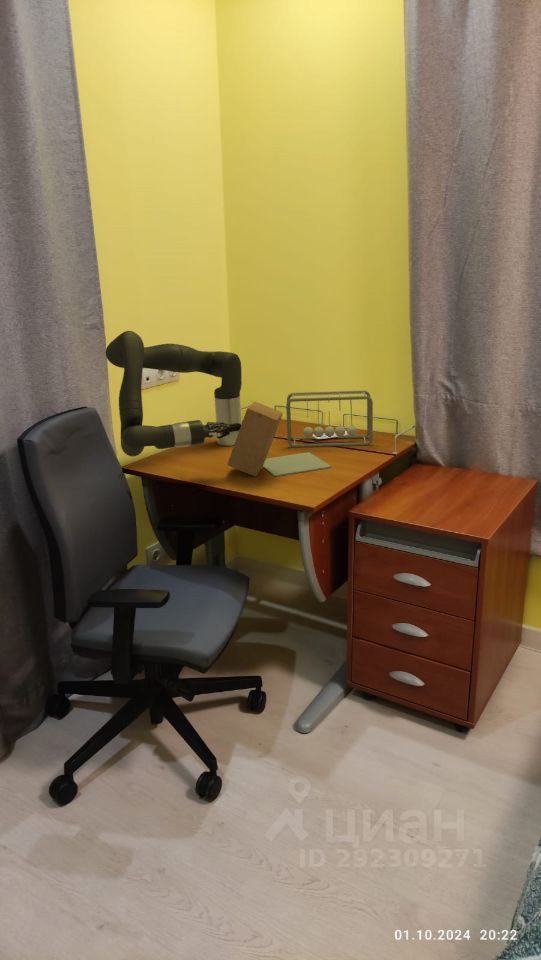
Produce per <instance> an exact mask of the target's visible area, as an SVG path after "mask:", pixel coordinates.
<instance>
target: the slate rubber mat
mask: <svg viewBox="0 0 541 960" xmlns="http://www.w3.org/2000/svg"><path fill="white" fill-rule="evenodd" d="M263 467H264V468H265V469H264V468H263ZM263 467H262V468H263V469H264V470H266V472H268V471H269V472H270V473H269V472H268V473H269V474H271V475H272V476H273V477H274V476H277V477H283V476H287V475H293V474H294V475H295V473H296V474H301V473H302V474H303V473H306V472H307V473H308V472H313V471H320V470H321V471H322V470H326V469H332V466H331V465H330V464H329V463H327V462H325V461H323V459H321V458H319V457H318V456H316V455H314V454H312V453H311V452H309V451H308V452H301V453H295V454H289V455H281V456H275V457H269V458H268V457H266V460H265V462H264V465H263ZM282 475H283V476H282Z"/></svg>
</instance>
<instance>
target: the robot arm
mask: <svg viewBox="0 0 541 960" xmlns="http://www.w3.org/2000/svg"><path fill="white" fill-rule="evenodd" d="M105 357H106V359H107V361H109V363H110V364H112V365H113V366H115V367H117V368H121V369H123V376H122V380H121V385H120V389H119V395H118V410H119V411H118V412H119V421H120V448H121V449H122V451H123V453H124V454H125V455H127V456H129V457H137V456H140V455H141V454H142V452H143V451H144V449H145V447H154V448H156V449H158V450H165V449H173V448H184V447H192V446H197V445H198V446H199V445H203V444H204V443H205V439H206V438H209V439H215V438H217V444H218V445H219V446H225V447H227V446H234V444H235V441H236V438H237V436H238V433H239V430H240V427H241V424H242V422H243V421H242V410H241V409H242V408H241V407H242V406H241V395H240V394H241V390H242V386H243V385H242V384H243V383H242V362H241V359H240V357H239V355H238V354H237V353H234V352H230V351H229V352H228V351H223V350H222V351H201V350H197V349H196V348H193V347H192V346H191V347H190V346H187V345H185V344H184V345H183V344H179V343H161V344H156V345H152V346H145V344H144V341H143V340H142V337H141V336H140V334H138V333H136V332H134V331H132V330H125V331H124V332H123V331H122V332H121V333H120V334H119V335H118V336H116V337H115V338H114V339H113V340H112V341H110V342H109V344H108V345H107V346H106V348H105ZM143 369H150V370H156V371H167V372H172V373H179V374H181V373H183V374H187V373H196V372H197V373H202V374H206V375H210V376H213V377H216V378H221V383H220V384H221V385H220V386H219V387H216V388H215V389H214V391H213V395H214V408H215V422H214V421H213V422H212V421H211V422H210V421H207V422H206V424H203V422H202V421H201V420H200V419H197V420H189V421H188V420H187V421H181V422H176V423H171V424H165V425H158V426H155V425H143V420H144V411H143V409H144V408H143V398H142V396H143V395H142V383H143V382H142V381H143Z"/></svg>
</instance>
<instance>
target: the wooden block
mask: <svg viewBox="0 0 541 960" xmlns="http://www.w3.org/2000/svg"><path fill="white" fill-rule="evenodd" d="M282 417H283V412H282V411H280V410H277V409H276V408H272V407H270V406H267V405H265V404H262V403H260V402H258V401H253V402H251V404H250V405H249V406H248V407H247V408H246V411H245V414H244V417H243V418H242V421H241V422H242V424H241V427H240V430H239V433H238V436H237V438H236V441H235V444H234V445H233V448H232V450H231V452H230V456H229V458H228V461H227V466H228V467H231V468H233V469H235V470H238V471H241V472H243V473H246V474H248V475H250V476H253V477H258V475H259V474H260V472H261V470H262V469H263V465H264V462H265V460H266V459H267V458H268V457H267V456H268V453H270V449H271V446H272V443H273V441H274V438H275V435H276V433H277V431H278V427H279V425H280V422H281V419H282Z"/></svg>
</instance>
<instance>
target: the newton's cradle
mask: <svg viewBox="0 0 541 960" xmlns="http://www.w3.org/2000/svg"><path fill="white" fill-rule="evenodd" d="M362 394H363V395H362ZM335 395H336V396H335ZM341 395H349V396H341ZM354 395H356V396H354ZM302 396H303V397H302ZM304 396H306V397H304ZM308 396H310V397H308ZM311 396H317V397H311ZM319 396H320V397H319ZM321 396H322V397H321ZM325 396H327V397H325ZM352 400H353V401H354V400H366V407H367V408H366V414H367V415H366V423H367V424H366V429H367V430H366V434H364V435H357V433H358V428H357V426H355V425H353V413H352V412H353V411H352ZM323 401H325V402H326V401H338V403H339V410H341V401H349V403H350V423H351V425H350V426H348V427H347V428H346V429H345V427H344V426H342V425H339V426H336V427H335V428H334V427H333V426H331V425H330V423H331V422H330V421H331V420H330V413H331V412H328V426H326V428H325V429H324V428H323V427H322V426H320V419H319V417H320V415H319V414H320V413H319V411H320V410H319V403H317V417H318V418H317V420H318V425H317V426H316V427H315V428H314V429H313V428H312V427H310V426H306V427H304V428H303V430H302V434H303V436H297V437H294V436H293V435H292V420H291V419H292V417H291V416H292V415H291V414H292V413H291V403H292V402H294V403H295V402H306V407H307V417H309V409H308V407H309V405H308V402H323ZM373 405H374V403H373V399H372V398H371V394H370V392H369V391H367V390H342V391H341V390H337V391H313V392H312V391H310V392H309V391H308V392H306V391H305V392H291V393H289V394H287V397H286V405H285V407H286V409H285V410H286V429H287V430H286V433H287V444H288V446H289V447H290V448H317V447H316V446H328V447H352V446H353V447H355V446H369V445H371V444H372V442H373V437H374V434H373V433H374V432H373V430H374V429H373V426H374V425H373V420H374V419H373V418H374V417H373V416H374V411H373V409H374V406H373ZM346 433H347V435H345V434H346ZM313 435H314V436H313ZM324 435H325V437H326V436H328V437H331V436H338V438H346V439H345V440H351V439H352V440H354V439H355V440H356V438H357V439H358V438H359V439H363V440H364V441H363V442H336V443H335V442H331V443H330V442H328V443H301V444H300V443H299V444H297V443H296V440H295V439H313V437H324ZM367 438H368V439H369V440H368V441H366V439H367ZM292 441H293V443H292Z"/></svg>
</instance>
